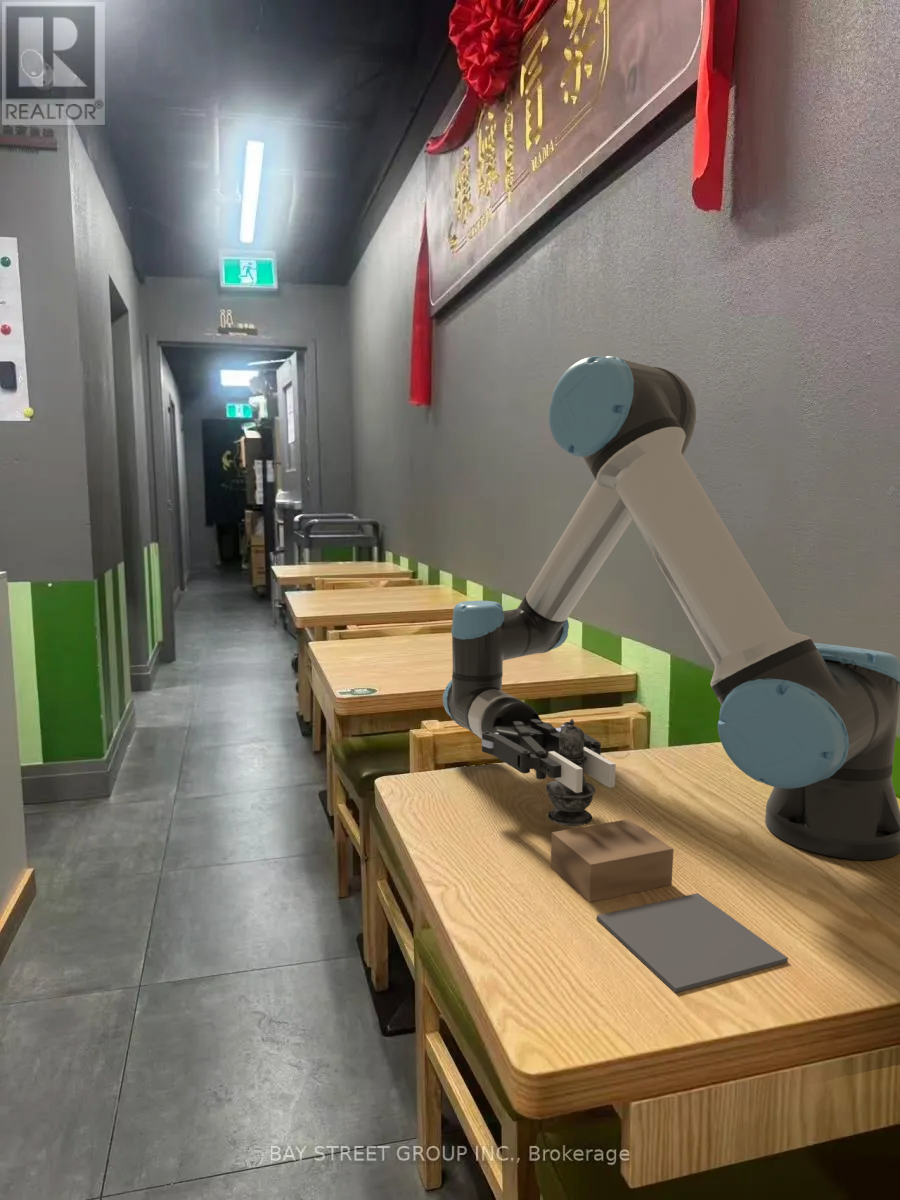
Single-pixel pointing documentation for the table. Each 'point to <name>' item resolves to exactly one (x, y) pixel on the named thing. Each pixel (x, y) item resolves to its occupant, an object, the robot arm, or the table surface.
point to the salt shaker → (564, 798)
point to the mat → (690, 941)
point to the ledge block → (611, 859)
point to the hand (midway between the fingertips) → (595, 778)
